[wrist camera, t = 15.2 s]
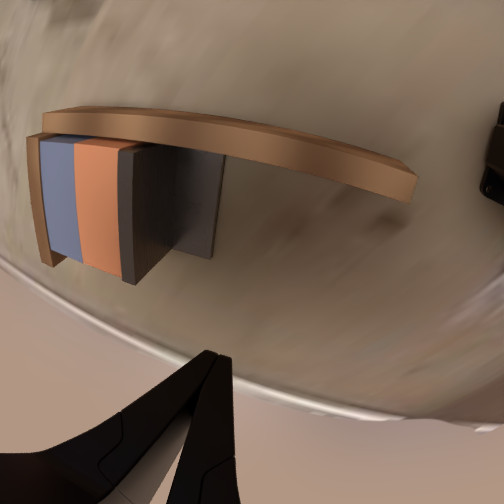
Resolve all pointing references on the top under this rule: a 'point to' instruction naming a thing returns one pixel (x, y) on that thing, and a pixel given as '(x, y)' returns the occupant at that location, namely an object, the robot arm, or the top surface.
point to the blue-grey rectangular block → (61, 193)
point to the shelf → (216, 151)
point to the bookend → (165, 204)
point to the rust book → (99, 200)
